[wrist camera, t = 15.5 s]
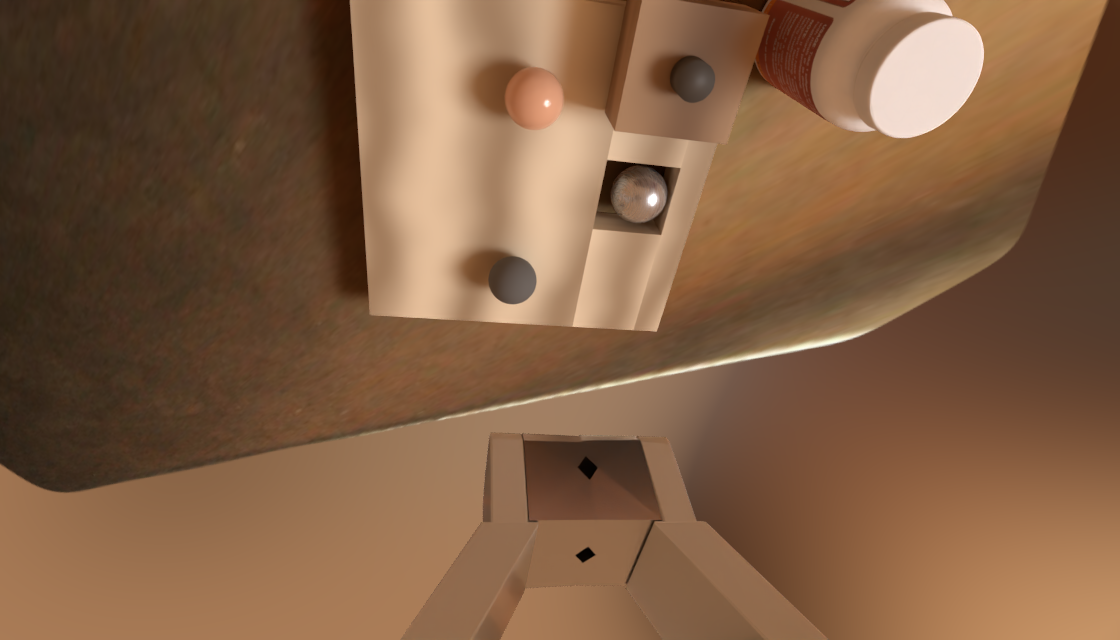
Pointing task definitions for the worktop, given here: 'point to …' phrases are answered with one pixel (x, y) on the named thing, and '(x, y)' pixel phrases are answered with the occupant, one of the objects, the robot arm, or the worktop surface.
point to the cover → (683, 67)
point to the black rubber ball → (512, 280)
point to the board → (506, 166)
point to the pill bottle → (872, 61)
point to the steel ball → (638, 194)
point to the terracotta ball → (534, 98)
